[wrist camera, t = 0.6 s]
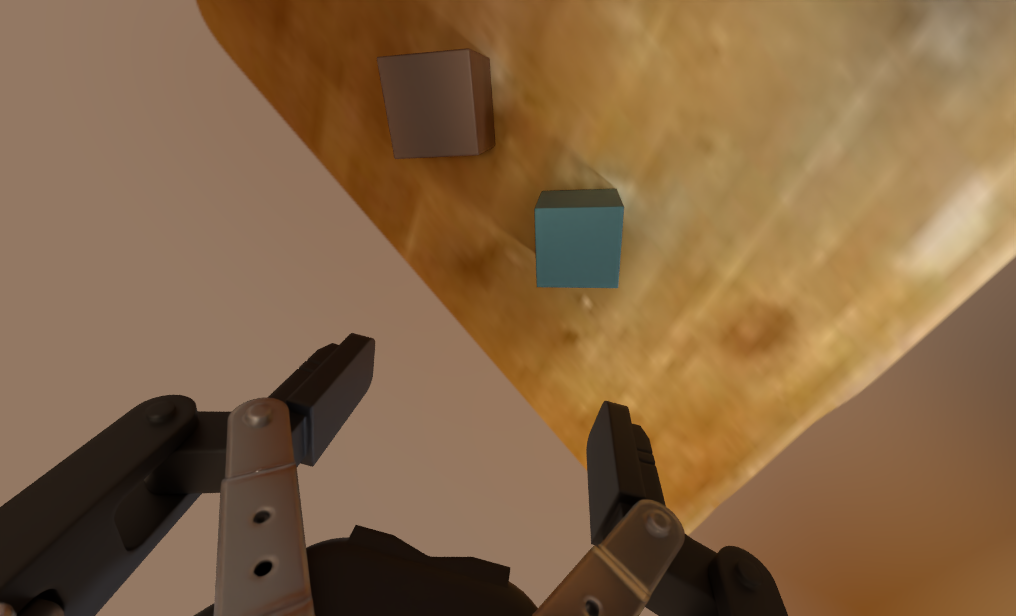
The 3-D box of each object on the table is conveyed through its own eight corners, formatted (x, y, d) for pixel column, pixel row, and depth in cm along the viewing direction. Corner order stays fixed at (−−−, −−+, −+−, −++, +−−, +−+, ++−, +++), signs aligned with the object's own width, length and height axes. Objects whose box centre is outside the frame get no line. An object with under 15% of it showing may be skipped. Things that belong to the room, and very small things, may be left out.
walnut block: (489, 57, 24) (469, 48, 20) (495, 146, 26) (478, 155, 22) (411, 64, 25) (375, 56, 21) (423, 149, 27) (394, 159, 23)
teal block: (616, 188, 26) (624, 206, 22) (612, 259, 29) (618, 288, 24) (541, 190, 27) (534, 208, 23) (543, 259, 29) (536, 287, 25)
